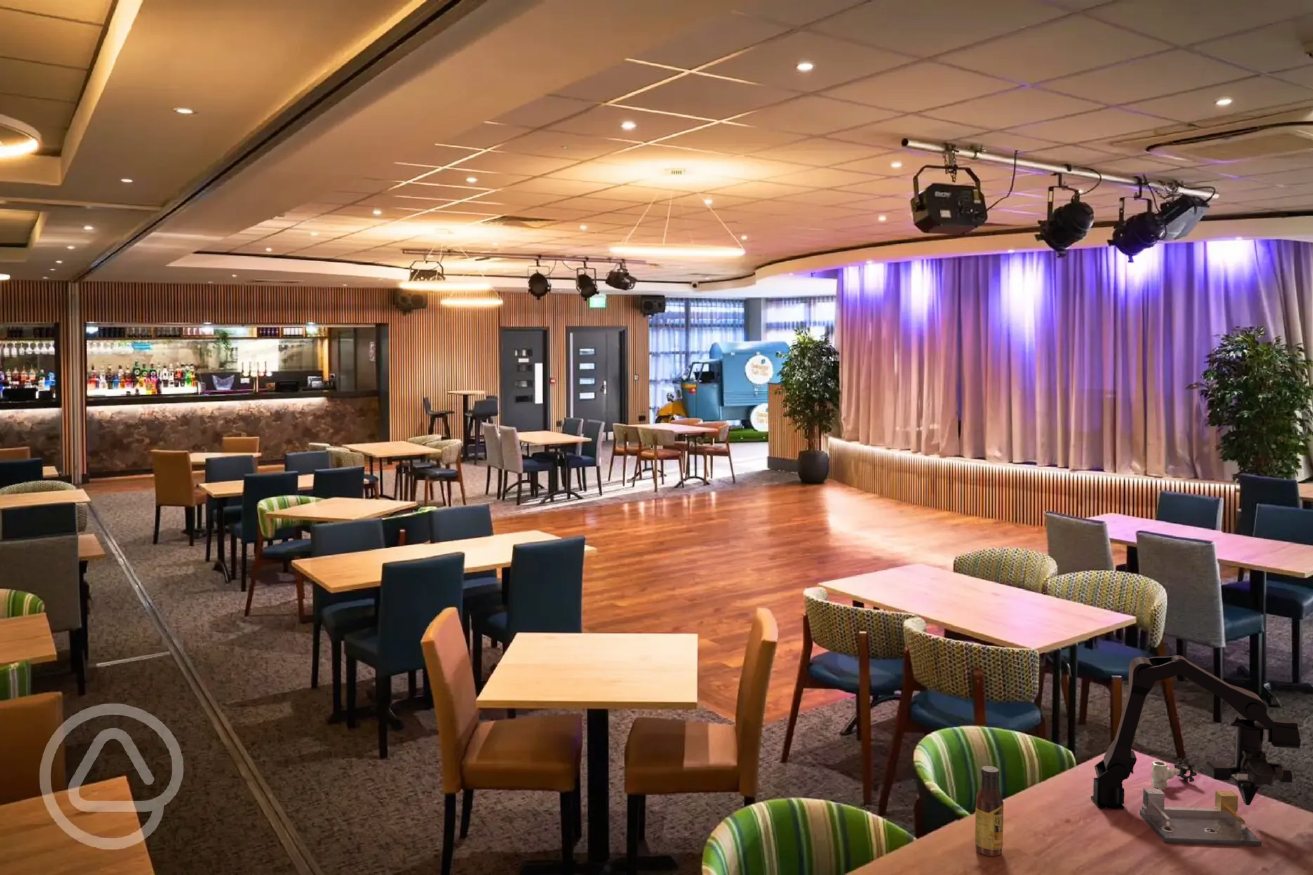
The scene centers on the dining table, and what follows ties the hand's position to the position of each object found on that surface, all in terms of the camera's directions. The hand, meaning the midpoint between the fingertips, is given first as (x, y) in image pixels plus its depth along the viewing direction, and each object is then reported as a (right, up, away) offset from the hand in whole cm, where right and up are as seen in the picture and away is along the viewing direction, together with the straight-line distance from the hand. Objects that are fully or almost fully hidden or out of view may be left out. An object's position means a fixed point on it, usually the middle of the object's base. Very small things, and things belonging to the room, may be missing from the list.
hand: (1247, 804), depth 241 cm
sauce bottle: (-70, -6, -14) cm, 71 cm away
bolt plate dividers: (-14, -5, -4) cm, 16 cm away
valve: (-7, -3, +22) cm, 24 cm away
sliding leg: (-5, -3, -3) cm, 7 cm away
